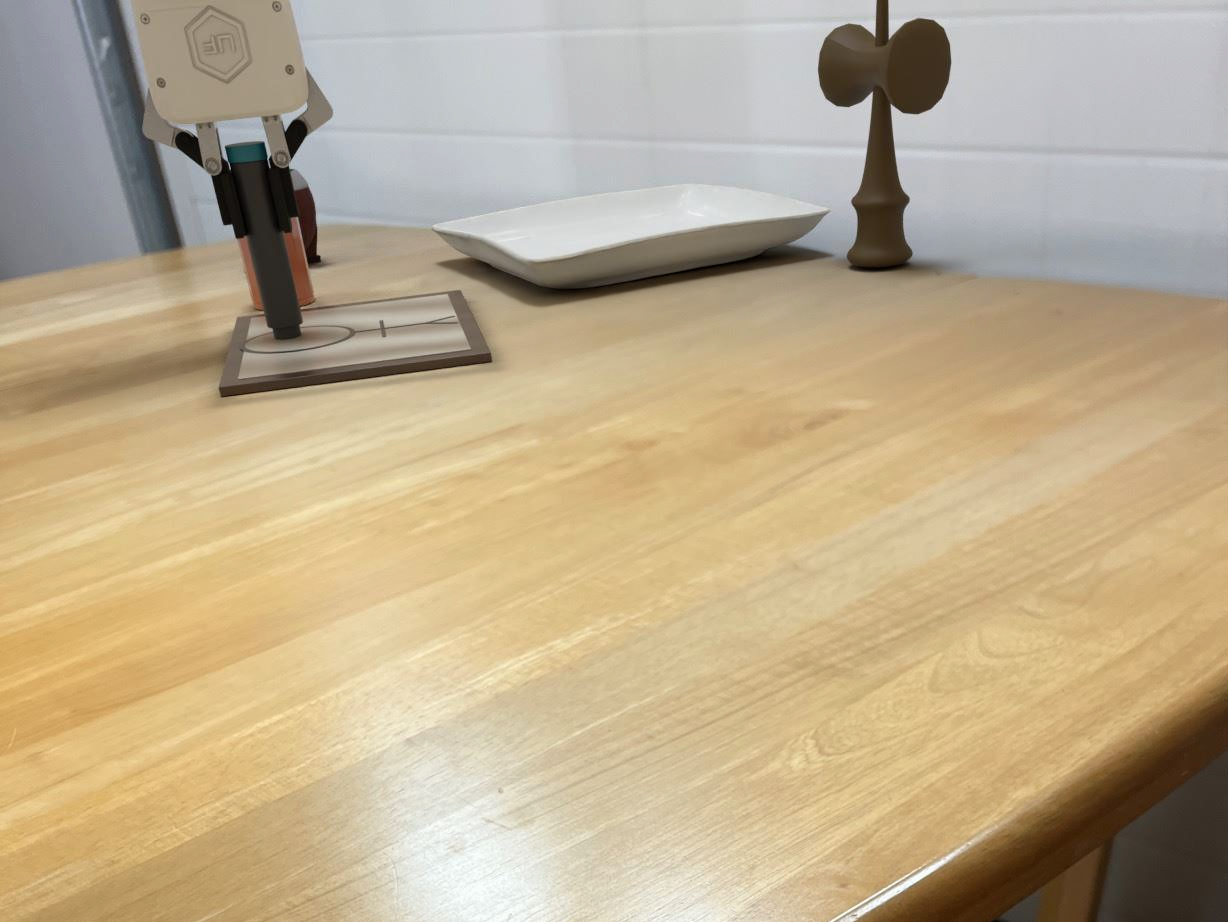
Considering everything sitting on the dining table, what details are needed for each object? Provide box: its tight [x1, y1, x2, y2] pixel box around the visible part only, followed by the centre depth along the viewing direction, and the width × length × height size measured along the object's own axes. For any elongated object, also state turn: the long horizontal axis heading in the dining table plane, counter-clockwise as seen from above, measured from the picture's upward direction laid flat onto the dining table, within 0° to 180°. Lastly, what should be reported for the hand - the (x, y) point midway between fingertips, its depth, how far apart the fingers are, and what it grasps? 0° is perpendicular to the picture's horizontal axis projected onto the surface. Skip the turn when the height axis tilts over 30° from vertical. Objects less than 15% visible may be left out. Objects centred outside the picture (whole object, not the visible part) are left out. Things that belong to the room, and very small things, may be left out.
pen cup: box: [236, 217, 316, 311], centre depth 112 cm, size 5×5×7 cm
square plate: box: [431, 182, 832, 290], centre depth 118 cm, size 27×27×4 cm
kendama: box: [817, 0, 952, 268], centre depth 102 cm, size 6×10×20 cm, turn 31°
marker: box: [224, 140, 303, 339], centre depth 96 cm, size 3×3×12 cm
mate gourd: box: [290, 168, 322, 264], centre depth 126 cm, size 8×8×15 cm
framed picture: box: [218, 289, 493, 397], centre depth 99 cm, size 24×18×1 cm
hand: (264, 230), depth 95 cm, fingers closed on marker, 2 cm apart
